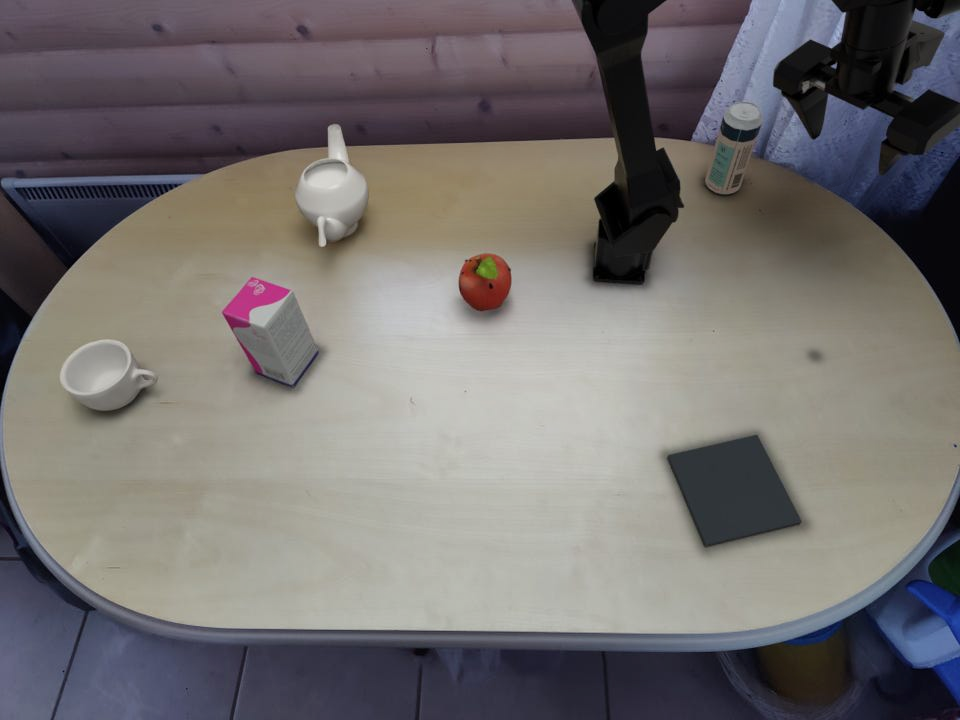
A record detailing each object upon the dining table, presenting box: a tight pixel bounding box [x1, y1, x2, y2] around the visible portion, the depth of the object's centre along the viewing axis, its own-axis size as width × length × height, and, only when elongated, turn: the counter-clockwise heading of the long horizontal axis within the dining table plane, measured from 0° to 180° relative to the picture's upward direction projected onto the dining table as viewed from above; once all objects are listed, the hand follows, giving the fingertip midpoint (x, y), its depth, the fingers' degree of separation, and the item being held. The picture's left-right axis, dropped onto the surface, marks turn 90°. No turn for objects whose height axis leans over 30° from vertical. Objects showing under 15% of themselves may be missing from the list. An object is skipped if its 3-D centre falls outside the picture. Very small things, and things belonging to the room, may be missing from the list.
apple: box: [458, 253, 513, 312], centre depth 81 cm, size 8×7×10 cm
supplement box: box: [221, 276, 319, 388], centre depth 77 cm, size 6×6×12 cm
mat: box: [667, 434, 803, 547], centre depth 70 cm, size 10×10×1 cm
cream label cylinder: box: [705, 100, 764, 195], centre depth 90 cm, size 5×5×12 cm
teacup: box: [59, 339, 159, 412], centre depth 78 cm, size 10×8×5 cm
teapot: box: [294, 123, 370, 248], centre depth 91 cm, size 10×20×9 cm, turn 0°
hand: (848, 154), depth 78 cm, fingers open, 9 cm apart
